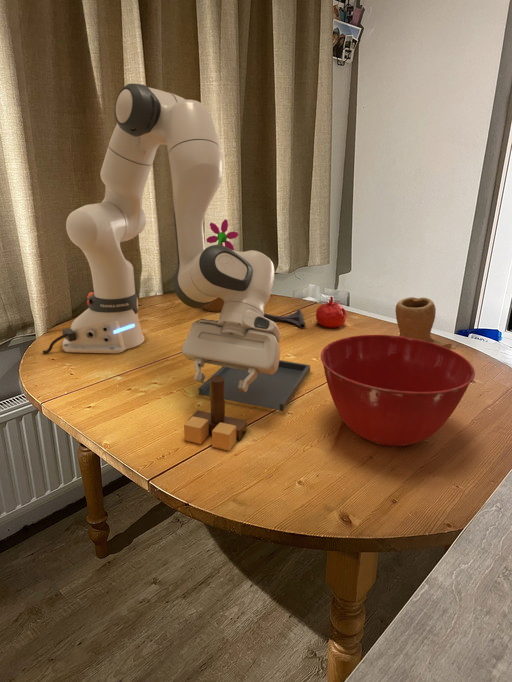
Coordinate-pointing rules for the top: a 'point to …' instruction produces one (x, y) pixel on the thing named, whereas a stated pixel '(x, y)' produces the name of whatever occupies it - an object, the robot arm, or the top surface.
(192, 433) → the bread cube
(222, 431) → the bread cube
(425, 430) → the mixing bowl
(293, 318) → the dark grey scraper
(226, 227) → the flowerpot
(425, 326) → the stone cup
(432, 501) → the top surface
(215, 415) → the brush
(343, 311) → the pomegranate
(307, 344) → the top surface
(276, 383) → the tray
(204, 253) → the robot arm
